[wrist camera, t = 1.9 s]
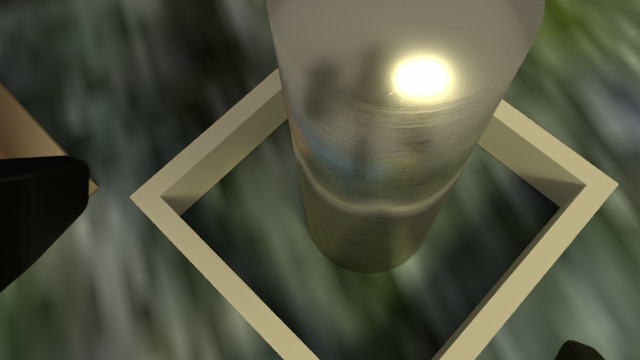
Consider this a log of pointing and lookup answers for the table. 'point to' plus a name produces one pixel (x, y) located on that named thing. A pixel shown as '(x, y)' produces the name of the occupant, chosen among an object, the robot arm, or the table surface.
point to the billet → (390, 110)
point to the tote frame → (498, 139)
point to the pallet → (25, 133)
